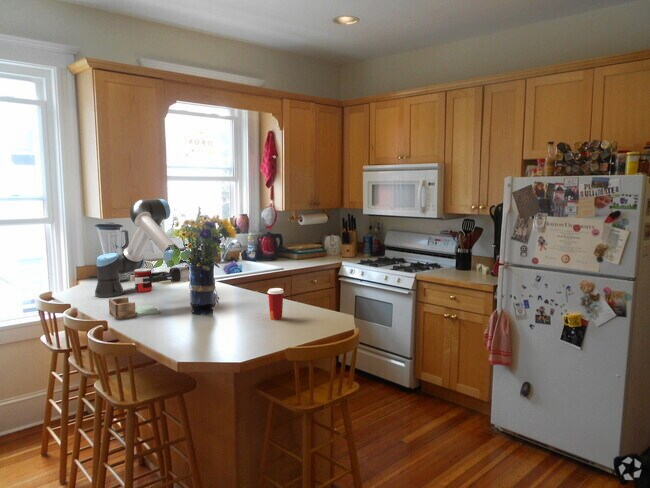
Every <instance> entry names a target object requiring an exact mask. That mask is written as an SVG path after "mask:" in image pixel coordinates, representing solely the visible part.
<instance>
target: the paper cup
mask: <svg viewBox="0 0 650 488" xmlns="http://www.w3.org/2000/svg"><path fill="white" fill-rule="evenodd" d="M284 292H285V291H284V289H283V288H280V287H274V288H273V287H272V288H269V289H268V290H267V296H268V297H267V298H268V307H269V310H268V311H269V318H270V320H273V321H279V320H282V319H283V305H284Z"/></svg>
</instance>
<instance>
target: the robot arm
mask: <svg viewBox="0 0 650 488" xmlns="http://www.w3.org/2000/svg"><path fill="white" fill-rule="evenodd" d="M170 216H171V207H170V205H169V203H168V202H167V200H165V199H163V198H152V199H151V198H150V199H138V200H135V201H134V202H133V203H132V204H131V205H130V207H129V218H130V220H131V221H132V223H133V224H134V225H135V226H136V227H137V229H136V231H135V233H134V234H133V237H132V239H131V241H130V244H129V245H128V247H125V248H124V250H123V252H122V253H120V254H119V253H117V252H110V253H103V254H101V255H99V256H97V258H96V261H95V262H96V277H97V284H96V287H95V290H94V295H95V296H94V297H96V298H112V297H118V296H122V295H124V293H125V292H124V288H123V286H122V283H121V280H120V276H121V275H126V274H133V275H130V276H129V277H130V282H134V285H135V284H139V283H147V282H149V281H150V282H152V284H154V283H159V282H160V283H161V282H167V281H170V282H171V283H179V282H183V283H186V281H190V280H189V267H188V266H189V265H188V266H179V267H171V268H169V271H168V272H167V271H154V272H151V276H150V278H149V277H141V278H135V276H134V270H136V269H142V268H144V266H145V257H144V254H143V253H144V251H145V250H146V247H147V245H148V243H149V242H150V240H151V241H152V242H153V243H154V244H155V245H156V247H158V249H159V250H160V251H161V252H162V253H163V255H162V257H163V260H164V263H165V264H166V265H168V264H167V261H168V260H170V259H172V257H173V250H172V249H170V247H169V246H168V245H174V247H175V249H180V251H184V250H185V248H186V247H184V248H179V247H178V245H177V244H176V243H175V242H174V241H173V239H171V238H170V236H169V235H168V234H167V233H166V232H165V231H164V229H162V227H160V225H161V224H162V222H163V220H164V221H165V220H168V219H169V218H170ZM185 263H186V264H187V263H188V262H186V261H183V260H180V261H179V263H178V264H176V265H175V266H177V265H181V264H185Z"/></svg>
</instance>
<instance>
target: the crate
mask: <svg viewBox="0 0 650 488" xmlns="http://www.w3.org/2000/svg"><path fill="white" fill-rule="evenodd" d="M108 308H109V309H108V311H109V312H108V313H109V315H110V316H112V317H113V318H114V319H115V320H121V319H130V318H136V317H142V316H149V315H154V314H161V311H160V309H158V307H155V306H154V305H152V304H150V305H149V304H147V305H142V306H136V302H135V301H132V302H129V297H128V296H124V297H117V298H116V297H115V298H111V299H109V298H108Z"/></svg>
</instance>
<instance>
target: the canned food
mask: <svg viewBox="0 0 650 488" xmlns="http://www.w3.org/2000/svg"><path fill="white" fill-rule="evenodd" d="M151 273H152V269H151V268H146V267H145V268H144V267H143V268H142V269H136V270H134V273H133V275H134V276H135V278H141V277H149V278H150V276H151ZM134 287H135V289H134V290H135V293H137V294H138V293H139V294H145V293H146V294H148V293H151V292H152V291H153V283H152V282H150V281H149V282H147V283H139V284H135V283H134Z"/></svg>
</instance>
